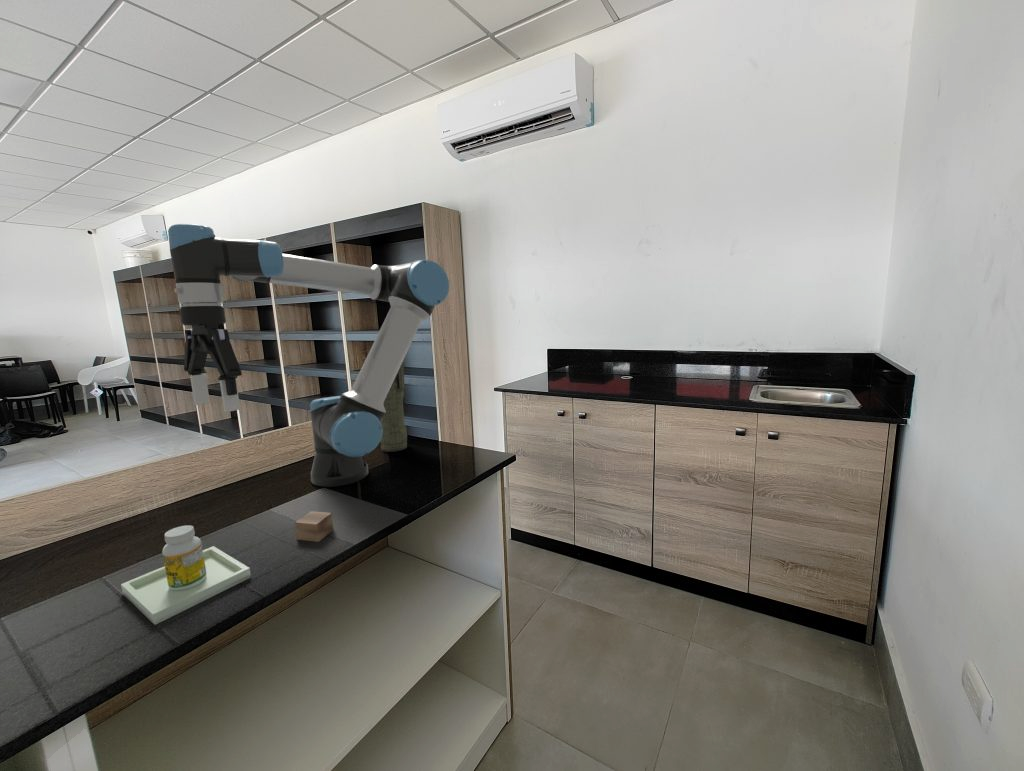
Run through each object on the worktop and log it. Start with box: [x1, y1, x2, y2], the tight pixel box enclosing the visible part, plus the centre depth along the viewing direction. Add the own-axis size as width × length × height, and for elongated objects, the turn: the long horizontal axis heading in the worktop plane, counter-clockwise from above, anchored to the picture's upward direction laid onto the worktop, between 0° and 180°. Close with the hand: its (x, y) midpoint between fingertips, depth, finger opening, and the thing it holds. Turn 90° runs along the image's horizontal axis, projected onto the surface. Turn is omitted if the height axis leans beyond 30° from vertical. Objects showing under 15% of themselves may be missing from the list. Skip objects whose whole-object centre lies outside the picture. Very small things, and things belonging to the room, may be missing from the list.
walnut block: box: [294, 510, 334, 543], centre depth 92 cm, size 5×5×4 cm
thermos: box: [379, 362, 408, 453], centre depth 146 cm, size 9×12×35 cm
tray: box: [120, 545, 252, 626], centre depth 76 cm, size 14×14×2 cm
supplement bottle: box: [161, 525, 206, 591], centre depth 75 cm, size 5×5×10 cm
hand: (216, 407), depth 93 cm, fingers open, 13 cm apart
